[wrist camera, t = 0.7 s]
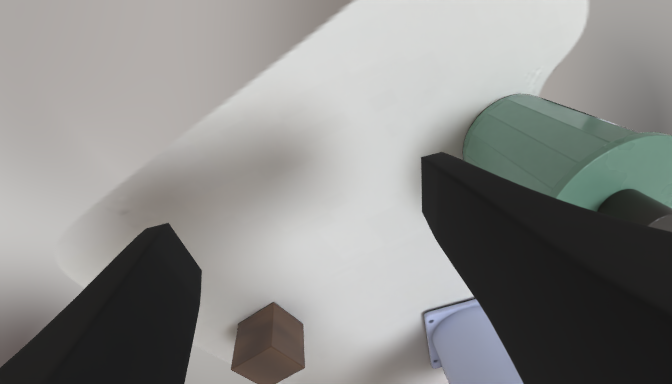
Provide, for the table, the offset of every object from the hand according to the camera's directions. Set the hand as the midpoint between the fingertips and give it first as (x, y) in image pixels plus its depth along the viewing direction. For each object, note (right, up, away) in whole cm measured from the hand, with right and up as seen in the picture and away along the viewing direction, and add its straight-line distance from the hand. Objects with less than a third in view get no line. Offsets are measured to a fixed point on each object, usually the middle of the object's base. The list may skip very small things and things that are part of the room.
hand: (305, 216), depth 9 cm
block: (-5, -11, +18) cm, 22 cm away
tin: (+12, +4, +12) cm, 18 cm away
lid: (+13, 0, +6) cm, 14 cm away
